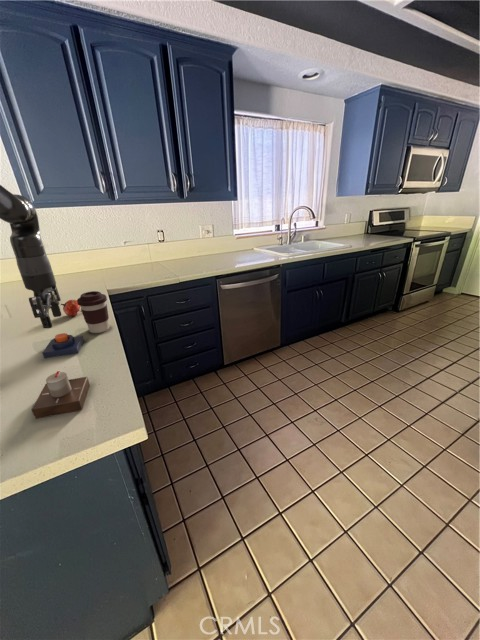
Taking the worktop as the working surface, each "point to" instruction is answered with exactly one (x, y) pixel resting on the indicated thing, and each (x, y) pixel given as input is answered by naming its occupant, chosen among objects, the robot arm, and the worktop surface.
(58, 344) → the button box
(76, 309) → the pomegranate
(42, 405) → the panel
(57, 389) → the dial
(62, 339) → the button
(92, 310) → the coffee cup
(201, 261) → the worktop surface
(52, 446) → the worktop surface
